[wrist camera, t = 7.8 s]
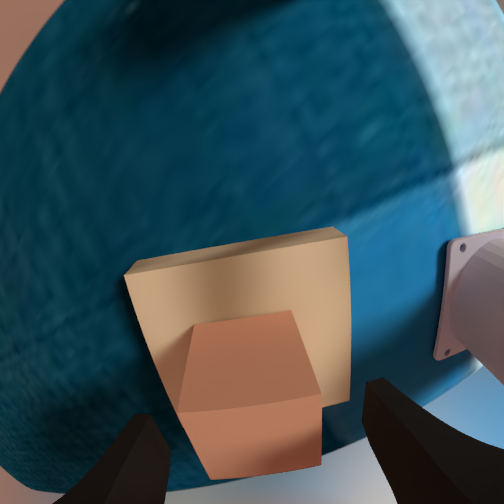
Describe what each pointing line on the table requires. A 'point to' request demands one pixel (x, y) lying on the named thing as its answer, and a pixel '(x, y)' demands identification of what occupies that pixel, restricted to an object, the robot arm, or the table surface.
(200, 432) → the terracotta block
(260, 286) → the birch block
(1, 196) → the table surface
